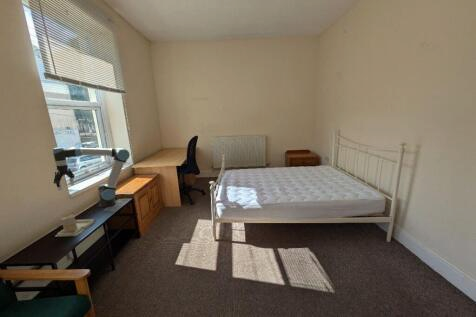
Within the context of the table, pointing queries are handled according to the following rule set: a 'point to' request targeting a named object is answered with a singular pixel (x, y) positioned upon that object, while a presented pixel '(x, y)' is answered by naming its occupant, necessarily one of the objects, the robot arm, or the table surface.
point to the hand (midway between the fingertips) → (66, 187)
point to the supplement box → (69, 224)
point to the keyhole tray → (80, 227)
